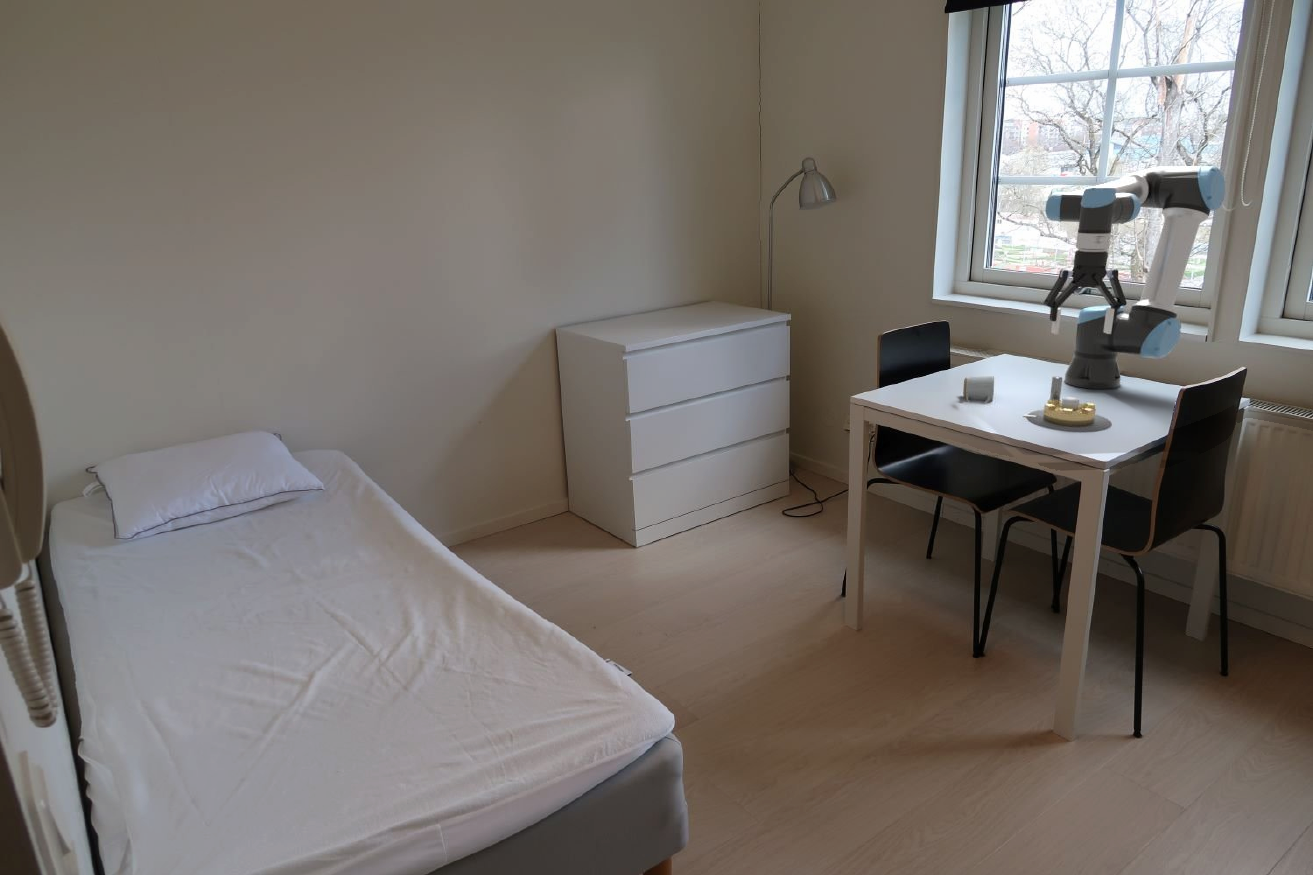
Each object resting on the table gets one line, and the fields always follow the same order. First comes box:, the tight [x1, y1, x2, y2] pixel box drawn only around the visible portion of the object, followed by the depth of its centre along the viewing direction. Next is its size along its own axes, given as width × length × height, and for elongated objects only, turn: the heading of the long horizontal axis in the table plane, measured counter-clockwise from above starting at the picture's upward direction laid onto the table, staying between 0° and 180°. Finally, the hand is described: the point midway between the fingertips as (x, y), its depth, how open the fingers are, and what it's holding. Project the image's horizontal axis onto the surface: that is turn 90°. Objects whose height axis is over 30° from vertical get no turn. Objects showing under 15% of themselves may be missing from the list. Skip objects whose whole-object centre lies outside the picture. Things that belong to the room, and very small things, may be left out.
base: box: [1022, 396, 1113, 433], centre depth 224 cm, size 20×20×7 cm
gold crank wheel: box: [1043, 376, 1097, 426], centre depth 226 cm, size 16×12×9 cm
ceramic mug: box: [962, 375, 995, 405], centre depth 246 cm, size 11×8×8 cm
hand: (1080, 333), depth 228 cm, fingers open, 13 cm apart
